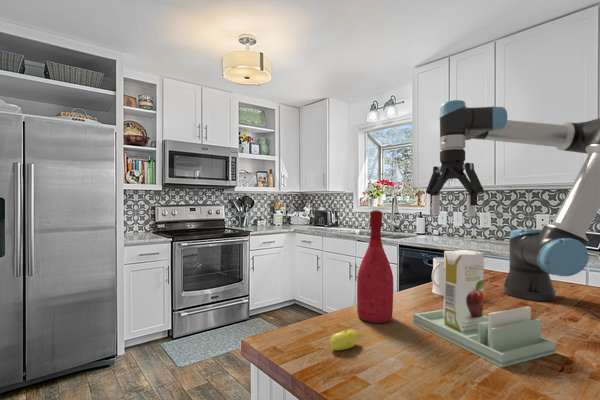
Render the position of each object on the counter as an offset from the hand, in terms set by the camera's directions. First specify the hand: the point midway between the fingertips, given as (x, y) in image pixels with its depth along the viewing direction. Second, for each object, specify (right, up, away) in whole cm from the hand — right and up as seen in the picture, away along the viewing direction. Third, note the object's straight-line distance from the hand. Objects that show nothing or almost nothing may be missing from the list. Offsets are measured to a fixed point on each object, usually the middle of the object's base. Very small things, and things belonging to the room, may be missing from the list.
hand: (452, 215), depth 108 cm
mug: (+1, -28, +10) cm, 30 cm away
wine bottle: (-29, -28, -15) cm, 43 cm away
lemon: (-39, -28, -34) cm, 59 cm away
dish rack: (-6, -28, -27) cm, 40 cm away
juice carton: (-8, -27, -23) cm, 37 cm away
